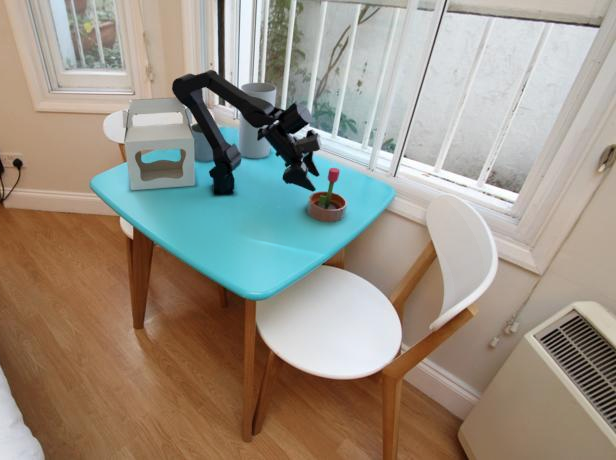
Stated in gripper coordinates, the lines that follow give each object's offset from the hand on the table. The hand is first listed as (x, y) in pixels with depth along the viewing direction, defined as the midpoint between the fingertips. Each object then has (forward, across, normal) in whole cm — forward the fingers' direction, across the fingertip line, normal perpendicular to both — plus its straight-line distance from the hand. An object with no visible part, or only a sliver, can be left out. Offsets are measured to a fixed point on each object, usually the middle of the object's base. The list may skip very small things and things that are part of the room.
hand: (316, 183), depth 109 cm
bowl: (+10, 0, +4) cm, 10 cm away
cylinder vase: (-12, +35, +26) cm, 45 cm away
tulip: (+9, 0, +4) cm, 10 cm away
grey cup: (-24, +25, +38) cm, 51 cm away
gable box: (-30, +4, +43) cm, 53 cm away
